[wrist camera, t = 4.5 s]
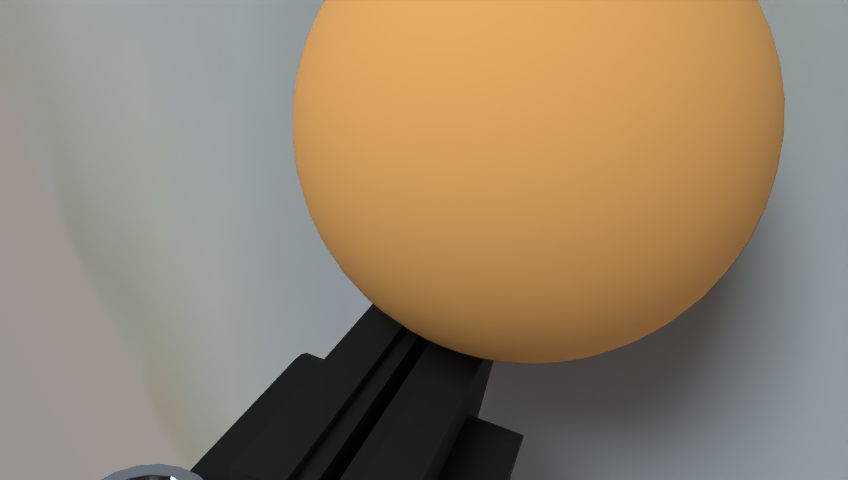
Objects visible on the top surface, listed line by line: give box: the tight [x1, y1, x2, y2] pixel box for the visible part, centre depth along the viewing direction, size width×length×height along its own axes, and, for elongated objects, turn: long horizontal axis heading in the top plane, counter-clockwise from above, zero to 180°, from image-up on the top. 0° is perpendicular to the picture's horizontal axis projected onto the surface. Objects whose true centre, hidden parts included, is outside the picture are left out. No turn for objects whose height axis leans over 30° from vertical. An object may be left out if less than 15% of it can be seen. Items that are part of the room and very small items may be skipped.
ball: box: [293, 0, 785, 364], centre depth 8 cm, size 5×5×5 cm
